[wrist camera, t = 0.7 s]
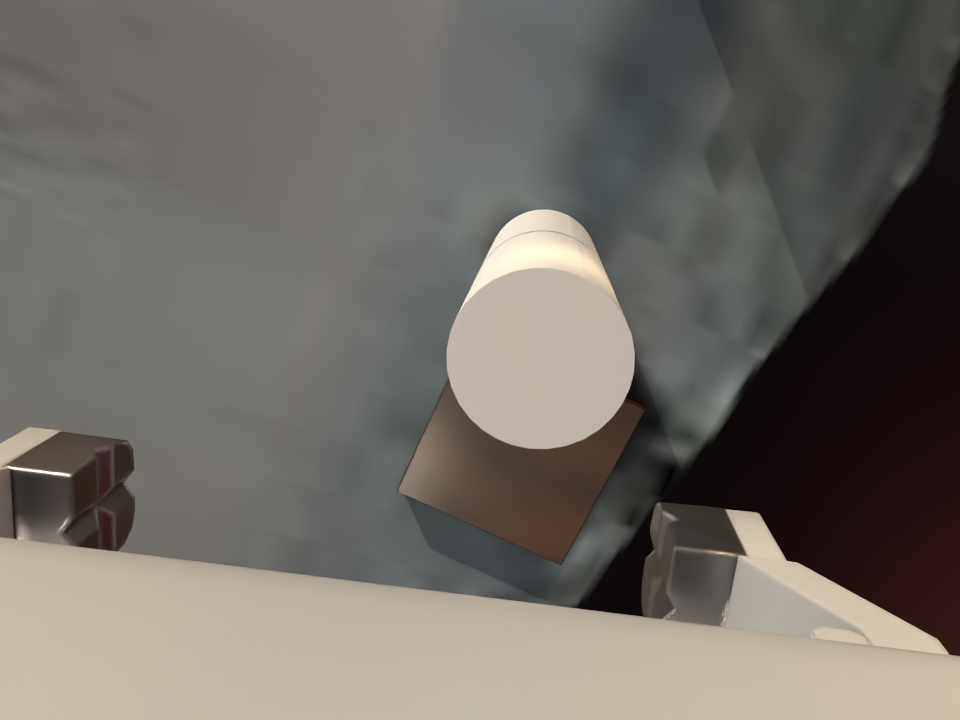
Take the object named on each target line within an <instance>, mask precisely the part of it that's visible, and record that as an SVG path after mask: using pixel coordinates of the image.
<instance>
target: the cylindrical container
mask: <svg viewBox="0 0 960 720" xmlns="http://www.w3.org/2000/svg"><path fill="white" fill-rule="evenodd" d="M634 359H635V352H634V346H633V340H632V335H631V332H630V330H629V327H628V325H627V322H626V320H625V317H624V315H623V312H622V310H621V308H620V305H619V303H618V300H617V298H616V296H615V293H614V291H613V288H612V286H611V284H610V281H609V279H608V277H607V274H606V272H605V269H604V267H603V265H602V262H601V260H600V258H599V256H598V253H597V251H596V249H595V246H594V244H593V242H592V239H591V237H590V236H589V234H588V233H587V231H586V230H585V228H584V227H583V226H582V225H581V224H580V223H579V222H578V221H576V220H575V219H573V218H572V217H570V216H569V215H566V214H564V213H561V212H558V211H553V210H534V211H529V212H526V213H523V214H521V215H519V216H517V217H515V218H514V219H512V220H511V221H510V222H508V223H507V224H506V225H505V226H504V227H503V228H502V229H501V231H500V232H499V234H498V235H497V237H496V238H495V241H494V243H493V245H492V247H491V249H490V251H489V253H488V255H487V257H486V259H485V261H484V263H483V265H482V267H481V269H480V271H479V273H478V275H477V277H476V279H475V281H474V283H473V285H472V287H471V289H470V291H469V293H468V295H467V297H466V299H465V301H464V303H463V305H462V307H461V309H460V311H459V313H458V315H457V317H456V320H455V322H454V324H453V327H452V329H451V332H450V336H449V341H448V346H447V371H448V376H449V380H450V384H451V388H452V390H453V392H454V394H455V396H456V399H457V401H458V403H459V404H460V406H461V407H462V408H463V410H464V411H465V413H466V414H467V415H468V417H469V418H470V419H471V420H472V421H473V422H474V423H476V424H477V425H478V426H479V427H480V428H481V429H482V430H484V431H485V432H487V433H488V434H490V435H491V436H493V437H495V438H496V439H499V440H501V441H503V442H506V443H508V444H511V445H515V446H519V447H524V448H529V449H551V448H557V447H563V446H567V445H570V444H573V443H575V442H578V441H581V440H583V439H585V438H587V437H588V436H590V435H591V434H593V433H595V432H596V431H598V430H599V429H601V428H602V427H603V426H604V425H605V424H606V423H607V422H608V421H609V420H610V419H611V418H612V417H613V416H614V415H615V413H616V412H617V411H618V409H619V408H620V406H621V405H622V404H623V401H624V399H625V397H626V395H627V393H628V391H629V389H630V385H631V381H632V377H633V373H634Z"/></svg>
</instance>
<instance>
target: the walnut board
mask: <svg viewBox="0 0 960 720" xmlns="http://www.w3.org/2000/svg"><path fill="white" fill-rule="evenodd" d="M643 413H644V408H643V406H642V405H640V404H638V403H636V402H634V401H631V400H629V399H627V398H625V399H624V401H623V404H622V405H621V406H620V408H619V409H618V411H617V412H616V413H615V415H614V416H613V417H612V418H611V419H610V420H609V421H608V422H607V423H606V424H605V425H604V426H603V427H602V428H601V429H599V430H598V431H596V432H595V433H593V434H591V435H590V436H588V437H587V438H585V439H583V440H581V441H578V442H575V443H573V444H570V445H567V446H563V447H557V448H551V449H529V448H524V447H519V446H515V445H511V444H508V443H506V442H503V441H501V440H499V439H496V438H495V437H493V436H491V435H490V434H488V433H487V432H485V431H484V430H482V429H481V428H480V427H479V426H478V425H477V424H476V423H474V422H473V421H472V420H471V419H470V418H469V417H468V415H467V414H466V413H465V411H464V410H463V408H462V407H461V406H460V404H459V403H458V401H457V399H456V396H455V394H454V392H453V390H452V388H451V384H450V380H449V378H448V381H447V383H446V385H445V387H444V389H443V391H442V394H441V396H440V398H439V400H438V402H437V404H436V407H435V409H434V411H433V413H432V415H431V417H430V420H429V422H428V424H427V426H426V428H425V430H424V433H423V435H422V437H421V439H420V441H419V443H418V445H417V448H416V450H415V452H414V454H413V456H412V458H411V461H410V463H409V465H408V467H407V469H406V471H405V474H404V476H403V478H402V480H401V482H400V484H399V487H398V489H397V492H399V493H401V494H404V495H406V496H408V497H410V498H412V499H415V500H417V501H419V502H421V503H424V504H426V505H428V506H430V507H433V508H435V509H437V510H439V511H441V512H444V513H446V514H448V515H450V516H453V517H455V518H457V519H459V520H462V521H464V522H466V523H468V524H470V525H473V526H475V527H477V528H479V529H482V530H484V531H486V532H488V533H491V534H493V535H495V536H497V537H499V538H502V539H504V540H506V541H508V542H511V543H513V544H515V545H517V546H520V547H522V548H524V549H526V550H529V551H531V552H533V553H535V554H537V555H540V556H542V557H544V558H546V559H549V560H551V561H553V562H555V563H558V564H560V565H562V563H563V561H564V559H565V557H566V556H567V554H568V552H569V550H570V548H571V546H572V544H573V543H574V541H575V539H576V537H577V535H578V533H579V532H580V530H581V528H582V526H583V524H584V522H585V520H586V519H587V517H588V515H589V513H590V511H591V509H592V507H593V506H594V504H595V502H596V500H597V498H598V496H599V495H600V493H601V491H602V489H603V487H604V485H605V483H606V482H607V480H608V478H609V476H610V474H611V472H612V471H613V469H614V467H615V465H616V463H617V461H618V459H619V458H620V456H621V454H622V452H623V450H624V448H625V446H626V445H627V443H628V441H629V439H630V437H631V435H632V434H633V432H634V430H635V428H636V426H637V424H638V422H639V421H640V419H641V417H642V415H643Z"/></svg>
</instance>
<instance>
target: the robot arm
mask: <svg viewBox="0 0 960 720" xmlns="http://www.w3.org/2000/svg"><path fill="white" fill-rule="evenodd" d="M133 471H134V460H133V449H132V447H131V445H130V444H129V442H128V441H127V440H119V439H112V438H105V437H97V436H90V435H82V434H75V433H67V432H64V431H61V430H51V429H41V428H30V427H29V428H27V429H26V430H24V431H22V432H20V433H18V434H17V435H15V436H13V437H11V438H9V439H8V440H6V441H4V442H2V443H0V720H960V656H953V655H949V653H948V652H947V651H946V649H945V648H944V647H943V646H942V644H941V643H940V642H939V640H938V639H936V638H934V637H932V636H931V635H929V634H927V633H925V632H923V631H921V630H920V629H918V628H916V627H914V626H912V625H910V624H909V623H907V622H905V621H903V620H901V619H899V618H898V617H896V616H894V615H892V614H890V613H889V612H887V611H885V610H883V609H881V608H879V607H878V606H876V605H874V604H872V603H870V602H868V601H867V600H865V599H863V598H861V597H859V596H858V595H856V594H853V593H852V592H850V591H848V590H846V589H845V588H843V587H841V586H839V585H837V584H836V583H834V582H832V581H830V580H828V579H826V578H825V577H823V576H820V575H819V574H817V573H815V572H814V571H812V570H810V569H808V568H806V567H804V566H802V565H801V564H799V563H796V562H789V561H787V560H786V559H785V557H784V555H783V554H782V552H781V550H780V548H779V547H778V545H777V543H776V542H775V540H774V538H773V536H772V535H771V533H770V531H769V530H768V528H767V526H766V524H765V523H764V521H763V519H762V518H761V516H760V514H758V513H755V512H746V511H736V510H725V509H724V508H714V507H704V506H693V505H683V504H672V503H662V502H659V503H658V504H657V505H656V506H655V509H654V513H653V517H652V523H651V528H650V534H651V538H652V542H653V546H654V551H653V552H652V553H651V554H650V555H649V556H648V557H647V558H646V559H645V566H644V574H643V583H642V610H643V616H644V617H640V616H632V615H624V614H615V613H608V612H600V611H592V610H584V609H576V608H568V607H560V606H552V605H544V604H536V603H528V602H520V601H512V600H504V599H496V598H488V597H479V596H471V595H463V594H455V593H447V592H439V591H431V590H423V589H415V588H407V587H399V586H391V585H383V584H375V583H366V582H358V581H350V580H342V579H334V578H326V577H318V576H310V575H302V574H294V573H286V572H278V571H270V570H261V569H253V568H245V567H237V566H229V565H221V564H213V563H205V562H197V561H189V560H181V559H173V558H165V557H157V556H148V555H140V554H132V553H124V552H117V551H118V550H119V549H120V548H121V547H122V546H123V545H124V544H125V542H126V539H127V537H128V535H129V533H130V531H131V528H132V524H133V518H134V512H135V497H134V495H133V494H132V492H131V491H130V489H129V488H128V486H127V485H126V483H125V481H126V479H127V478H128V477H129V476H130V474H131V473H132V472H133Z"/></svg>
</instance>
